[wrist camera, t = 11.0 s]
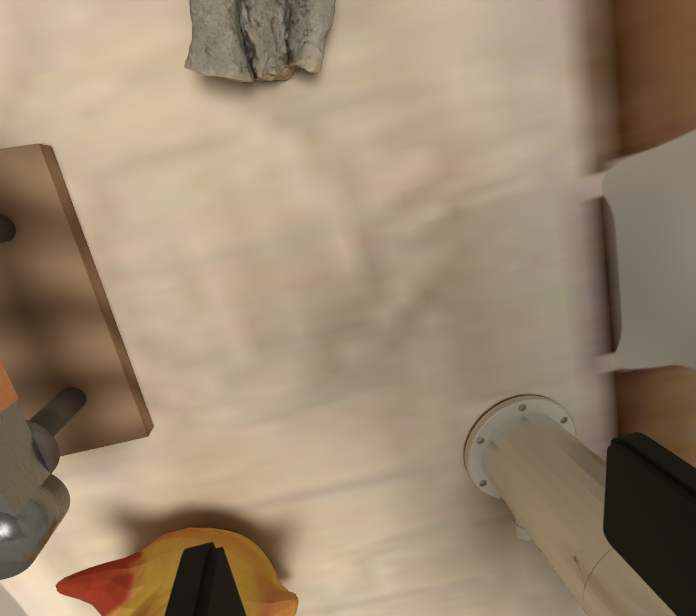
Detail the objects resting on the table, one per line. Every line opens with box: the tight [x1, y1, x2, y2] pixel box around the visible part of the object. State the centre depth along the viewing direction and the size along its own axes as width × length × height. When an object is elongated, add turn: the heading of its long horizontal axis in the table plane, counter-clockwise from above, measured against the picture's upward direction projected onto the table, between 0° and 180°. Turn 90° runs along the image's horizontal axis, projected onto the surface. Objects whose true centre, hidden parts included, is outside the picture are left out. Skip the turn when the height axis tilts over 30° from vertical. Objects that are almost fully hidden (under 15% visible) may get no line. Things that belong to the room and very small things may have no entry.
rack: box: [0, 144, 153, 473], centre depth 26 cm, size 24×9×10 cm, turn 9°
